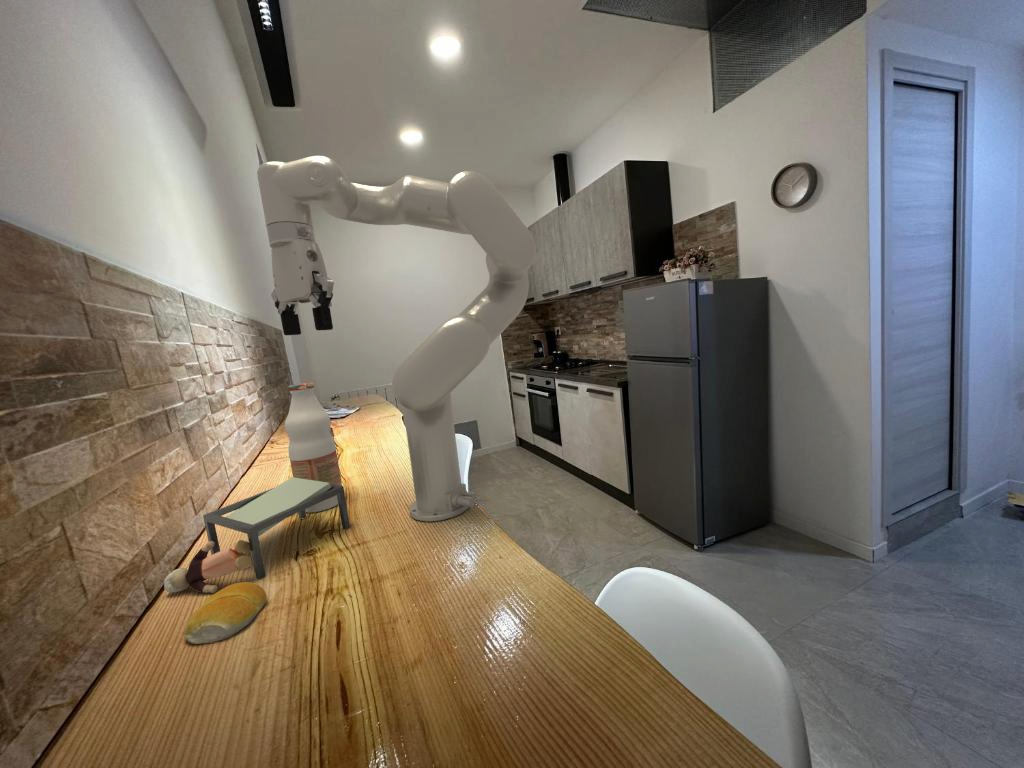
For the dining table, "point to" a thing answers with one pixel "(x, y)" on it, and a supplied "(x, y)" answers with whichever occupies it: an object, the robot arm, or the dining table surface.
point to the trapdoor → (279, 501)
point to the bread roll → (225, 613)
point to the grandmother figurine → (209, 568)
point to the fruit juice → (311, 442)
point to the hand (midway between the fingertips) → (308, 332)
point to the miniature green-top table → (267, 522)
